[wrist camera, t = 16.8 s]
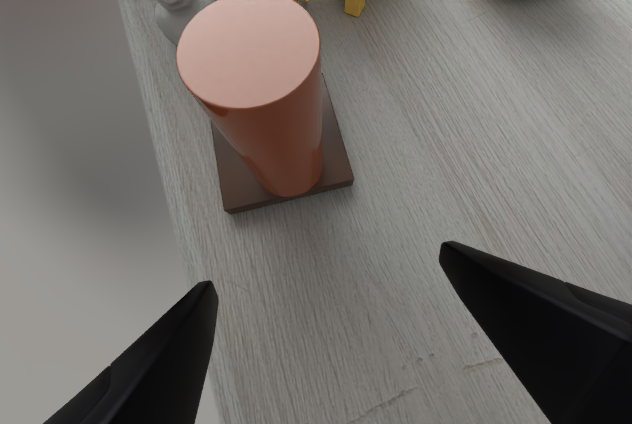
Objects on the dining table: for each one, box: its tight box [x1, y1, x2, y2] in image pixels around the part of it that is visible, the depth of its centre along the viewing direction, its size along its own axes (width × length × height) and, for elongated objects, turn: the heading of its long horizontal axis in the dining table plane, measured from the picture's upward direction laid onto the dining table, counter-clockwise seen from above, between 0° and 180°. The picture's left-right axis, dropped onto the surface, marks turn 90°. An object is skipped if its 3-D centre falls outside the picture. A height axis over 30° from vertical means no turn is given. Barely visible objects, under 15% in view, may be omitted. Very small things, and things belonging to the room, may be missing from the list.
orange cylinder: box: [176, 0, 324, 197], centre depth 14 cm, size 5×5×10 cm
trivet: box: [210, 73, 354, 214], centre depth 20 cm, size 10×10×1 cm
